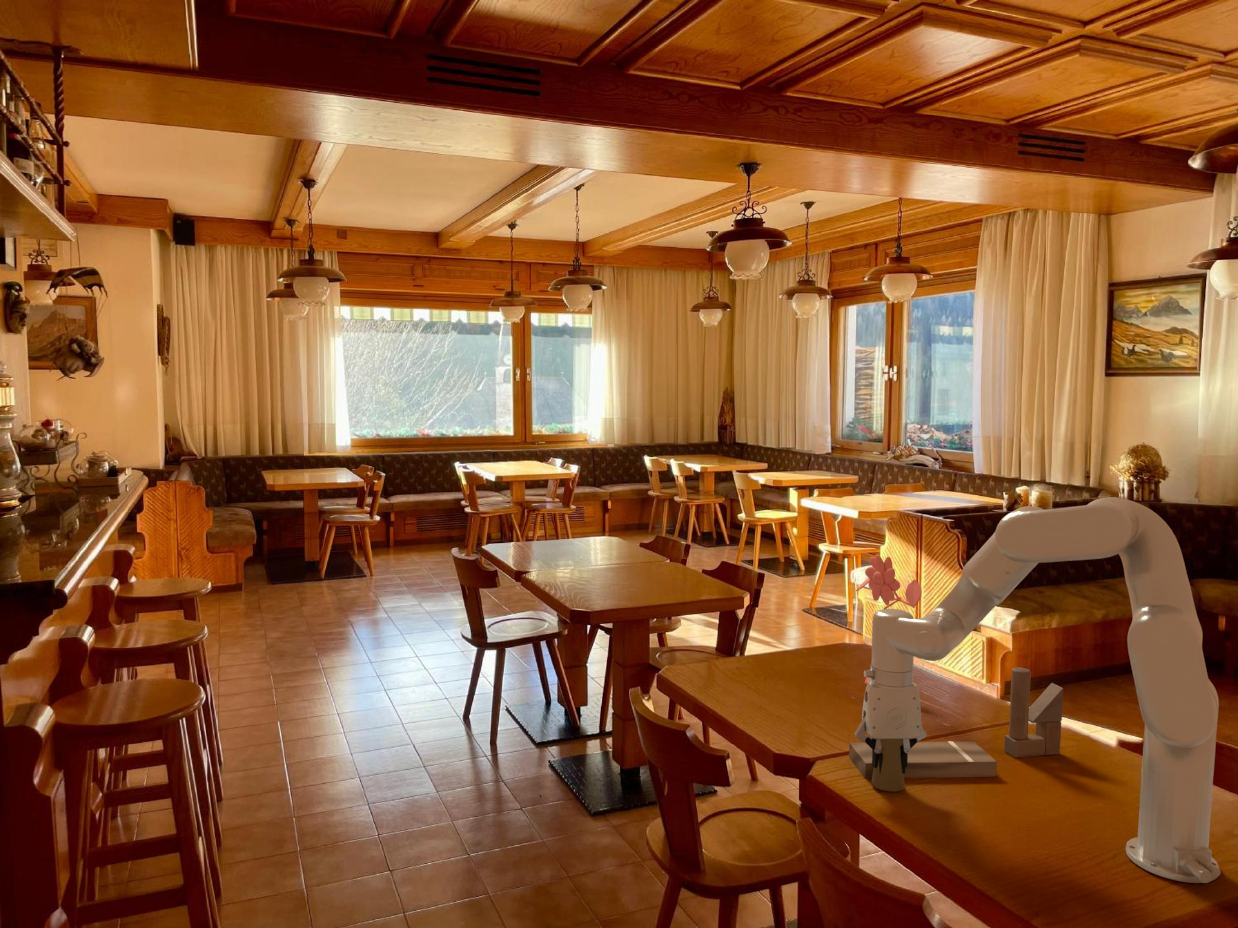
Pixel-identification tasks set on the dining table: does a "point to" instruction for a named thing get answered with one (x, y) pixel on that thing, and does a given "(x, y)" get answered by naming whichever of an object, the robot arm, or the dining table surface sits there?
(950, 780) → the dining table surface
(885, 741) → the olive green peg figure
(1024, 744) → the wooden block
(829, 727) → the dining table surface
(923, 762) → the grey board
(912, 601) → the pink wire flower
